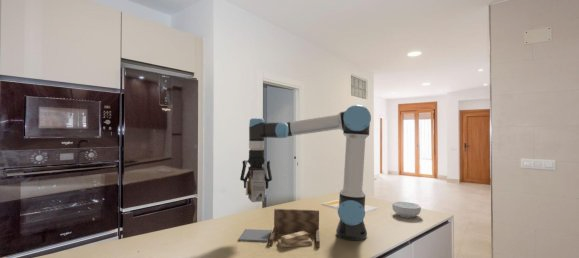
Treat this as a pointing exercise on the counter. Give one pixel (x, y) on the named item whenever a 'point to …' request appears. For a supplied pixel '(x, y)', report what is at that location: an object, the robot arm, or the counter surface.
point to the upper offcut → (294, 237)
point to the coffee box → (256, 184)
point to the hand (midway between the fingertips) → (256, 194)
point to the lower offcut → (296, 243)
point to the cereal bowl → (406, 209)
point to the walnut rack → (295, 223)
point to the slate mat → (255, 235)
